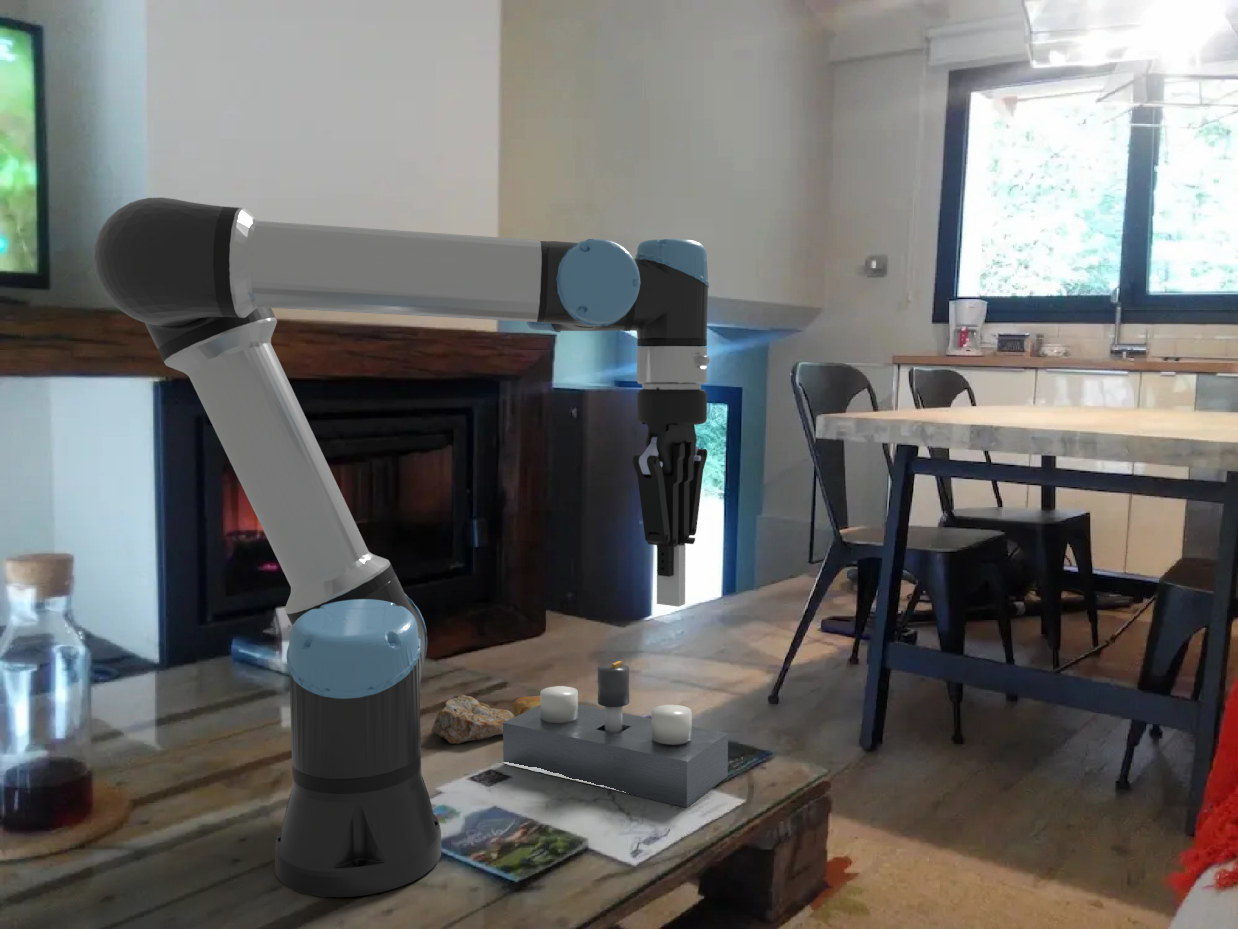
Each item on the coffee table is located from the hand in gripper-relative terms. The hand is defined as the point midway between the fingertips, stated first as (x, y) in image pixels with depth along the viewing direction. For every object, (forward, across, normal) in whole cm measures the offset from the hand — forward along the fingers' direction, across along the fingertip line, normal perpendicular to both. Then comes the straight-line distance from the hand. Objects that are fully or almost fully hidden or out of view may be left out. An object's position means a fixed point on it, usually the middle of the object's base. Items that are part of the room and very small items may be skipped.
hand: (670, 603), depth 115 cm
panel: (+20, 0, +7) cm, 22 cm away
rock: (+21, +2, +29) cm, 36 cm away
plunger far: (+20, 0, +15) cm, 25 cm away
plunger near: (+20, 0, 0) cm, 20 cm away
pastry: (+21, +9, +24) cm, 33 cm away
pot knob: (+17, 0, +7) cm, 18 cm away
